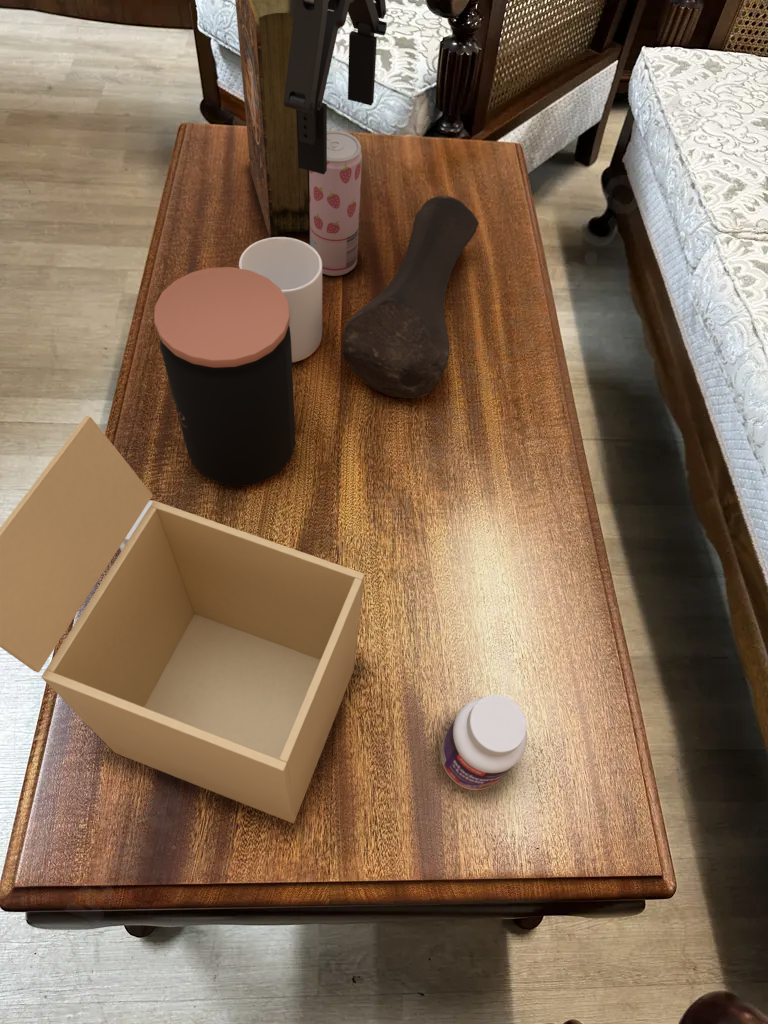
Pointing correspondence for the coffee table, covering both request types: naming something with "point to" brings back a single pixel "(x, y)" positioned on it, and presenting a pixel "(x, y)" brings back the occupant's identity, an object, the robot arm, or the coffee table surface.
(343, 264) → the beverage can
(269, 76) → the book
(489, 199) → the coffee table surface
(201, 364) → the coffee jar
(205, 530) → the carton
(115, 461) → the flap
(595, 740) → the coffee table surface
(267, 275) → the mug
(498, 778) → the pill bottle
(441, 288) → the dark brown bone
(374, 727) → the coffee table surface
